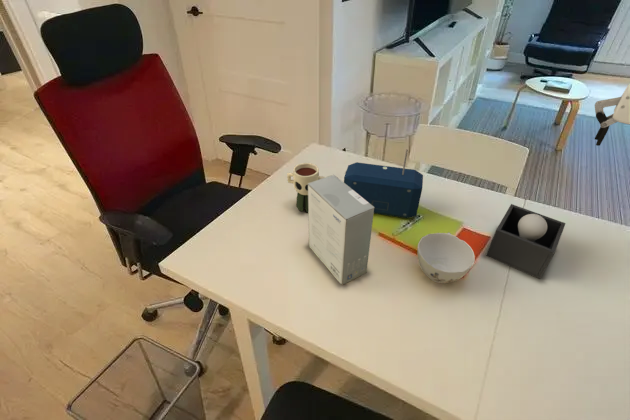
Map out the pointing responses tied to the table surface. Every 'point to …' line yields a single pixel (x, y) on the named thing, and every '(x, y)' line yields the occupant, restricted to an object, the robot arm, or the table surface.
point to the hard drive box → (339, 227)
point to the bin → (524, 243)
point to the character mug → (303, 182)
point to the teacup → (444, 257)
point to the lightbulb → (532, 227)
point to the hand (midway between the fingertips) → (624, 149)
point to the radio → (387, 187)
